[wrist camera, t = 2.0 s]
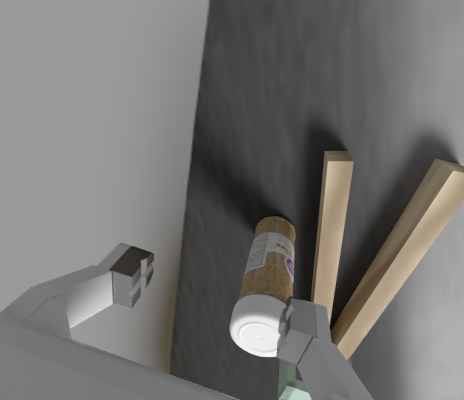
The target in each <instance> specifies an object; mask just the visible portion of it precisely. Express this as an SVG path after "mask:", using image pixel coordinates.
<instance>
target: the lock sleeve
mask: <svg viewBox="0 0 464 400" xmlns="http://www.w3.org/2000/svg"><path fill="white" fill-rule="evenodd" d="M347 362H348V363H349V365H350V366H351V368H352V363H351V357H350V358H349V359H348V360H347ZM352 369H353V368H352ZM295 371H296V364H293V363H291V362H288V361H285V360H283V359H280V370H279V387H278V400H312V399H311V397H310V395H309V392H308V390H307V388H306V386H305V383H304V382H302V381H299V380H296V379H295Z"/></svg>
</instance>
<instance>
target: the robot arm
mask: <svg viewBox="0 0 464 400" xmlns="http://www.w3.org/2000/svg"><path fill="white" fill-rule="evenodd" d="M153 260H154V254H153V253H151V252H148V251H146V250H143V249H140V248H137V247H134V246H130V245H127V244H124V243H120V244H118V245H117V246H116V247H115V248H114V249H113V250H112V251H111V252H110V253H109V254H108V255H107V256H106V257H105V258H104V259H103V260H102V261H101V262H100V263H99V264H98V265H97V266H94V265H93V266H90V267H87V268H84V269H81V270H78V271H76V272H73V273H70V274H67V275H64V276H62V277H59V278H56V279H53V280H50V281H47V282H45V283H42V284H39V285H36V286H33V287H31V288H29V289H28V290H27V291H26V292H24V293H23V294H22V295H21V296H20V297H18V298H17V299H16V300H15V301H14V302H12V303H11V304H10V305H9V306H8V307H6V308H5V309H4V310H3V311H2V312H0V400H239V399H236V398H234V397H231V396H228V395H225V394H223V393H220V392H217V391H214V390H212V389H209V388H206V387H203V386H200V385H198V384H195V383H192V382H189V381H187V380H184V379H181V378H178V377H175V376H173V375H170V374H167V373H164V372H161V371H159V370H156V369H153V368H150V367H148V366H145V365H142V364H139V363H136V362H134V361H131V360H128V359H125V358H123V357H120V356H117V355H114V354H111V353H108V352H106V351H103V350H100V349H98V348H95V347H92V346H89V345H87V344H84V343H81V342H78V341H76V340H72V339H71V333H70V328H72V327H74V326H75V325H77V324H79V323H81V322H82V321H84V320H86V319H87V318H89V317H91V316H92V315H94V314H96V313H97V312H99V311H101V310H103V309H104V308H106V307H108V306H109V305H111V304H113V303H117V304H120V305H123V306H127V307H130V308H132V307H133V306H134V304H135V303H136V301H137V300H138V299H139V297H140V293H141V290H143V289H144V288H146V287H147V285H148V284H149V282H150V280H151V277H152V274H153V266H152V264H151V263H152V261H153ZM278 332H279V334H280V337H279V339H278V341H277V356H276V357H277V358H280V359H283V360H285V361H288V362H291V363H293V364H296V365H297V367H298V370H299V372H300V374H301V376H302V379H303V381H304V383H305V386H306V388H307V390H308V392H309V395H310V397H311V399H312V400H373V398H372V397H371V395H370V394H369V392H368V391H367V390H366V388H365V387H364V385H363V384H362V382H361V381H360V379H359V378H358V377H357V375H356V374H355V372H354V371H353V369H352V368H351V366H350V365H349V363H348V362H347V361H346V359H345V358H344V356H343V355H342V353H341V352H340V350H339V349H338V348H337V346H336V345H335V344H333V343H331V335H330V327H329V319H328V312H327V308H326V307H325V306H322V305H319V304H316V303H312V302H309V301H306V300H302V299H299V298H296V297H292V296H289V297H288V299H287V302H286V308H284V309H283V311H282V313H281V317H280V320H279V327H278Z"/></svg>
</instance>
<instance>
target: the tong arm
mask: <svg viewBox="0 0 464 400" xmlns="http://www.w3.org/2000/svg"><path fill="white" fill-rule="evenodd" d="M353 163H354V161H353V159H352V158H351V156H350V154H349V152H348V151H325V154H324V165H323V175H322V186H321V196H320V207H319V218H318V228H317V239H316V250H315V260H314V271H313V282H312V292H311V302H312V303H316V304H319V305H322V306H325V307H326V308H327V312H328V319H329V326H330V319H331V312H332V306H333V299H334V292H335V285H336V278H337V272H338V265H339V258H340V251H341V244H342V238H343V231H344V224H345V217H346V210H347V204H348V197H349V190H350V183H351V176H352V170H353Z"/></svg>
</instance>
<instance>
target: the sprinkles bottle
mask: <svg viewBox="0 0 464 400" xmlns="http://www.w3.org/2000/svg"><path fill="white" fill-rule="evenodd" d="M294 241H295V229H294V227H293V225H292V224H291V223H290V222H289V221H288V220H286V219H284V218H282V217H278V216H271V217H266V218H264V219H263V220H261V221H260V222H259V223H258V224H257V226H256V231H255V238H254V241H253V243H252V247H251V250H250V254H249V258H248V262H247V266H246V270H245V273H244V277H243V284H242V288H241V292H240V296H239V299H238V301H237V303H236V305H235V307H234V310H233V314H232V318H231V323H230V334H231V336H232V338H233V340H234V341H235V343H236V344H237V345H238V346H239V347H241V348H242V349H243V350H245V351H247V352H249V353H251V354H254V355H257V356H262V357H275V356H277V341H278V339H279V337H280V334H279V332H278V327H279V320H280V317H281V313H282V311H283V309H284V308H286V302H287V299H288V297H289V296H292V284H293V277H294Z"/></svg>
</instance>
